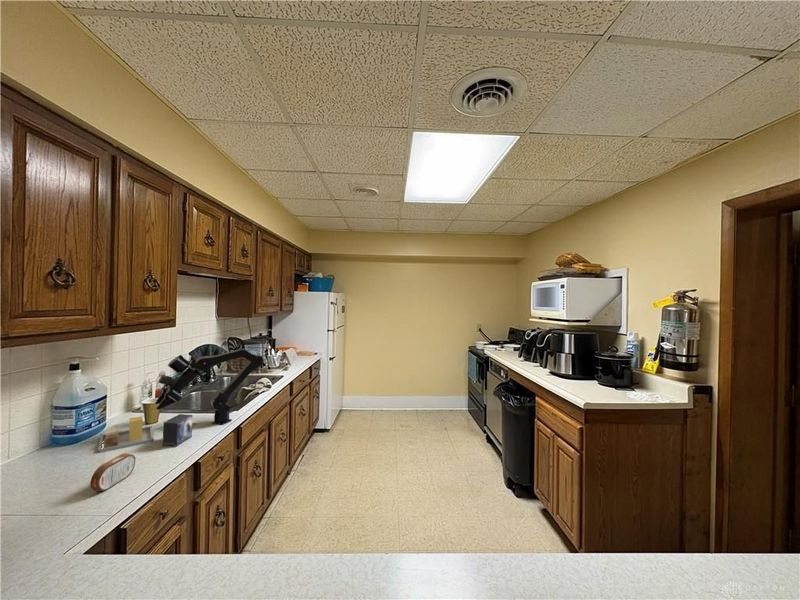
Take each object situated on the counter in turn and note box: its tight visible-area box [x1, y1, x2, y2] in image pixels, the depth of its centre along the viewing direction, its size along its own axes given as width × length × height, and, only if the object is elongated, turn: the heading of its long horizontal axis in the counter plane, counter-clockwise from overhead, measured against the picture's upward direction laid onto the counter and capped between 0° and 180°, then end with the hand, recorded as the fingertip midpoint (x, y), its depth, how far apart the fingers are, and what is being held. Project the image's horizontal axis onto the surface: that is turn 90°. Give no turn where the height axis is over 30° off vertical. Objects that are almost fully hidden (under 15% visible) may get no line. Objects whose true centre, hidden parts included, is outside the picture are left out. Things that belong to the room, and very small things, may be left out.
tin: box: [89, 452, 136, 492], centre depth 114 cm, size 15×3×8 cm, turn 178°
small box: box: [162, 413, 194, 448], centre depth 146 cm, size 11×6×10 cm, turn 179°
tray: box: [97, 425, 155, 454], centre depth 147 cm, size 18×18×2 cm
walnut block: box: [105, 434, 118, 448], centre depth 141 cm, size 4×4×4 cm
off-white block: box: [105, 428, 119, 436], centre depth 146 cm, size 4×4×4 cm
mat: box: [155, 422, 197, 432], centre depth 163 cm, size 12×12×1 cm
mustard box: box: [128, 416, 143, 441], centre depth 148 cm, size 4×4×8 cm
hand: (156, 406), depth 153 cm, fingers open, 9 cm apart
